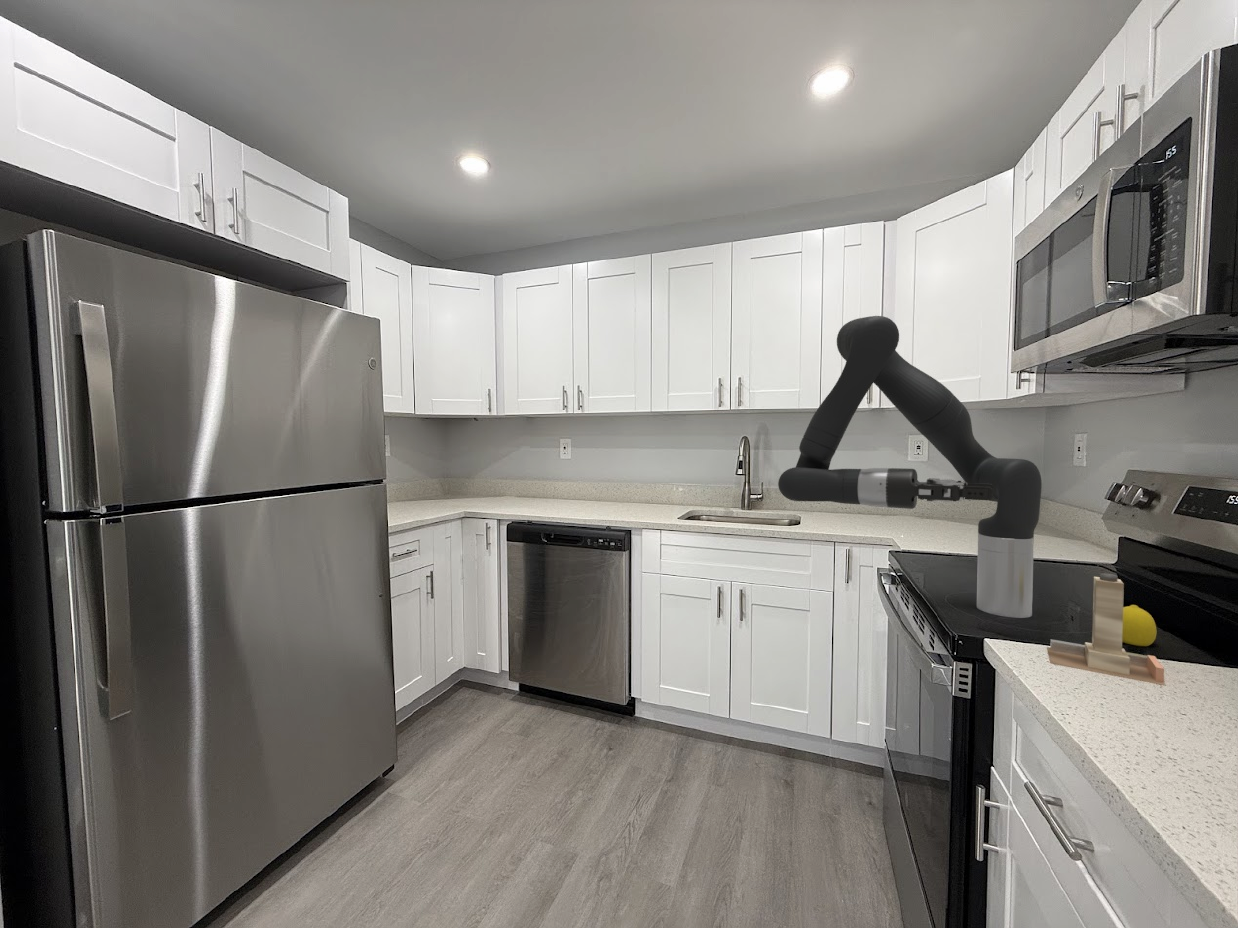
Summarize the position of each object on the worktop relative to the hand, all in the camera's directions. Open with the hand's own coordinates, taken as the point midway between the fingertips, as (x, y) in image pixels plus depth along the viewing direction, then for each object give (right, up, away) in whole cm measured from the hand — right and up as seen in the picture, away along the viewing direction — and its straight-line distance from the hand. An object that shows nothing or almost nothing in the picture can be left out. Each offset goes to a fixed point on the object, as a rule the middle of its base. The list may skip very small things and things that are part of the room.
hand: (992, 491), depth 87 cm
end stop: (+16, -27, -11) cm, 33 cm away
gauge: (+12, -27, -8) cm, 30 cm away
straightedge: (+13, -27, -5) cm, 30 cm away
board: (+11, -28, -8) cm, 31 cm away
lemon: (+26, -28, +2) cm, 38 cm away
